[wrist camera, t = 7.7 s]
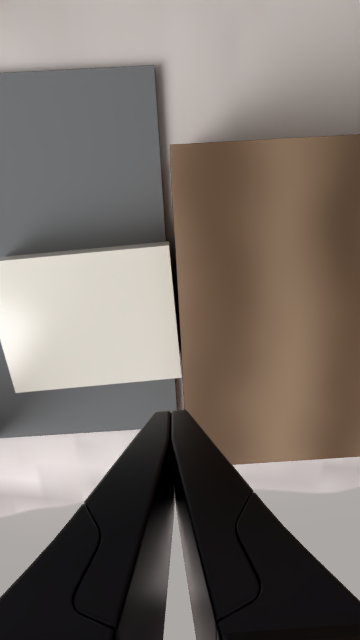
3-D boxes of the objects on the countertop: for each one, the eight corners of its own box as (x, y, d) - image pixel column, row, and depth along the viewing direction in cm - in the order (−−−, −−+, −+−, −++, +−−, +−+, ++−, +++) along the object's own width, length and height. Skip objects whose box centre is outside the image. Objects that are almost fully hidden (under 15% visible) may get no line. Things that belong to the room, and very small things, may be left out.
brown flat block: (495, 143, 16) (593, 121, 13) (433, 406, 21) (489, 448, 18) (170, 161, 16) (170, 144, 12) (185, 422, 21) (188, 467, 17)
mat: (154, 69, 15) (153, 65, 14) (177, 423, 21) (177, 426, 21) (-143, 84, 15) (-151, 80, 14) (-30, 436, 21) (-34, 440, 21)
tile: (169, 241, 17) (168, 245, 15) (180, 357, 19) (181, 377, 17) (4, 256, 17) (-23, 263, 15) (34, 371, 19) (15, 392, 17)
